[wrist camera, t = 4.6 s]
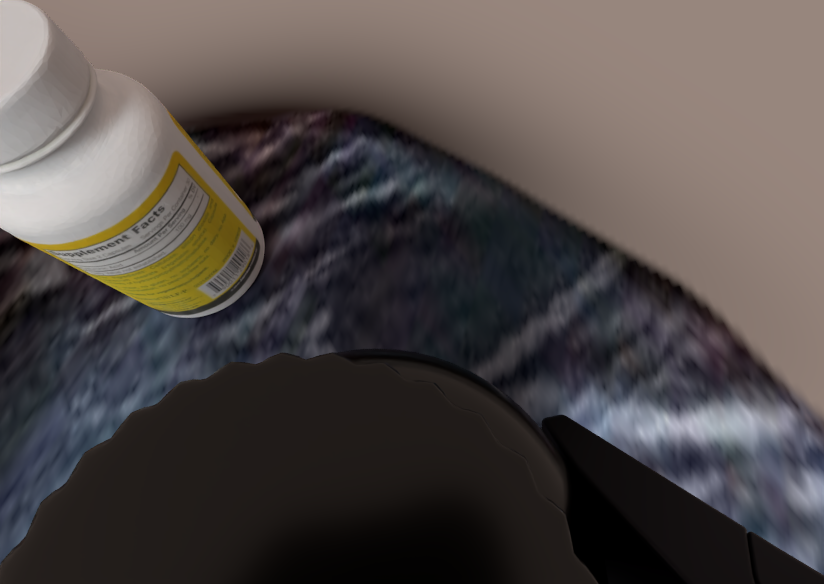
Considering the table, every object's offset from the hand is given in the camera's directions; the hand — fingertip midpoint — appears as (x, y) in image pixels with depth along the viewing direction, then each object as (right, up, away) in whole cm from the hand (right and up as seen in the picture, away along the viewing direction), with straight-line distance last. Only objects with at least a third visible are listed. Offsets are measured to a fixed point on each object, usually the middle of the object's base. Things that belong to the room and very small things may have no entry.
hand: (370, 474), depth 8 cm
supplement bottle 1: (-8, +5, +10) cm, 14 cm away
